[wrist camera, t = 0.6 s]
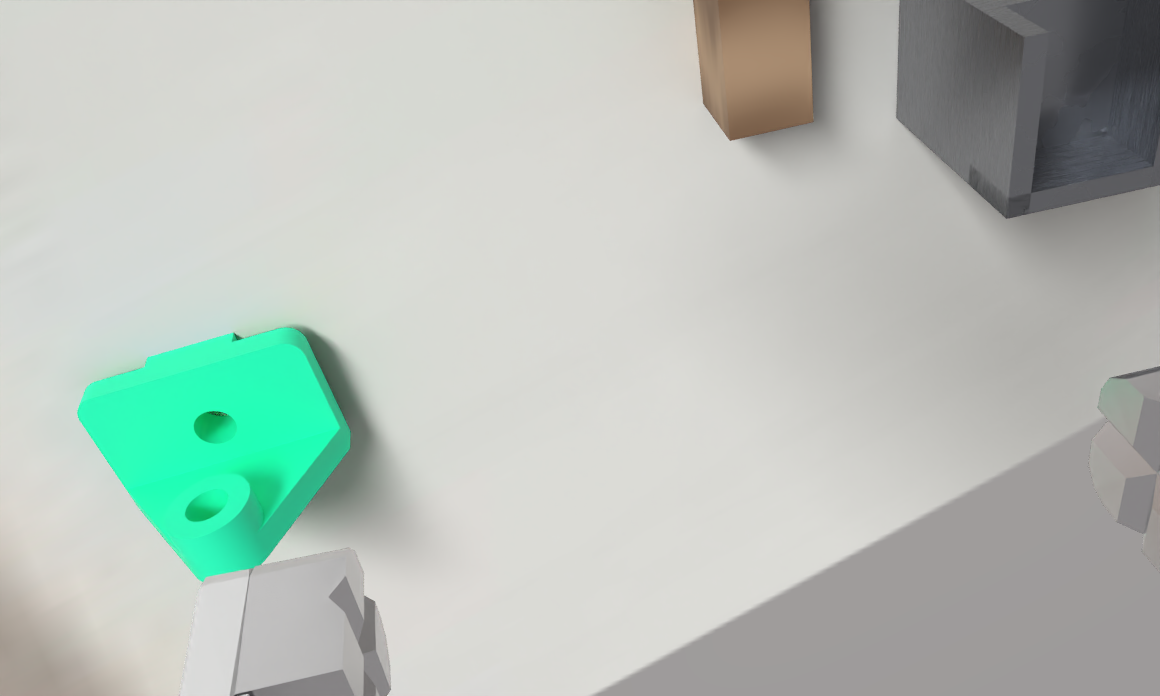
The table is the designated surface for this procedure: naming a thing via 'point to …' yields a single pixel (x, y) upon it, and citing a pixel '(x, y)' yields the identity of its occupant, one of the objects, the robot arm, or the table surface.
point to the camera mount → (221, 443)
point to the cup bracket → (1035, 95)
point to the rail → (755, 64)
